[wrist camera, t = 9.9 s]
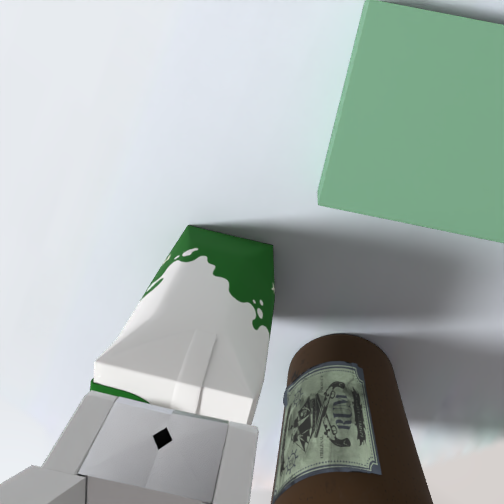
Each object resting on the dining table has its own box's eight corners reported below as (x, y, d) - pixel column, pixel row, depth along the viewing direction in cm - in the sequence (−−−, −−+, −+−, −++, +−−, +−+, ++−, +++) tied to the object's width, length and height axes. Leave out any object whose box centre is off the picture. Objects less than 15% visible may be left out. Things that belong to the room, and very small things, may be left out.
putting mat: (317, 191, 36) (317, 205, 34) (364, 0, 31) (369, -2, 28) (606, 250, 36) (630, 269, 33) (710, 67, 30) (749, 72, 27)
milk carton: (178, 211, 39) (62, 378, 21) (288, 237, 38) (268, 427, 21) (165, 302, 42) (57, 508, 25) (265, 326, 42) (230, 550, 24)
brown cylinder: (418, 398, 44) (529, 792, 21) (314, 432, 47) (315, 806, 25) (370, 308, 40) (442, 668, 18) (260, 352, 44) (206, 702, 21)
